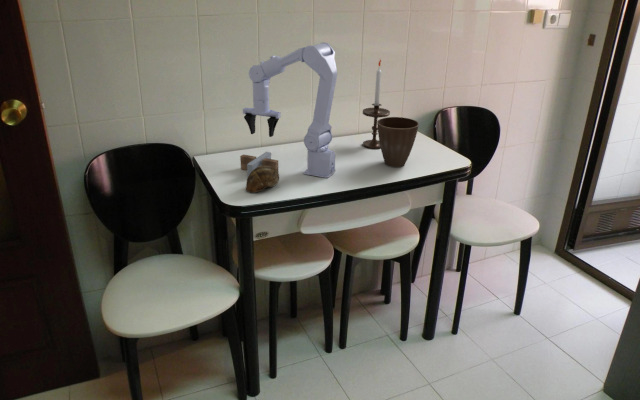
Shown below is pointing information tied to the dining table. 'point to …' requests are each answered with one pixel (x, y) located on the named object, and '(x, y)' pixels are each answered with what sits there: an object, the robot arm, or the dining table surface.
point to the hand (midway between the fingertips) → (262, 134)
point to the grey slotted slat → (257, 162)
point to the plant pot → (396, 139)
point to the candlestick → (375, 114)
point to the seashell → (262, 178)
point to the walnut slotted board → (265, 162)
